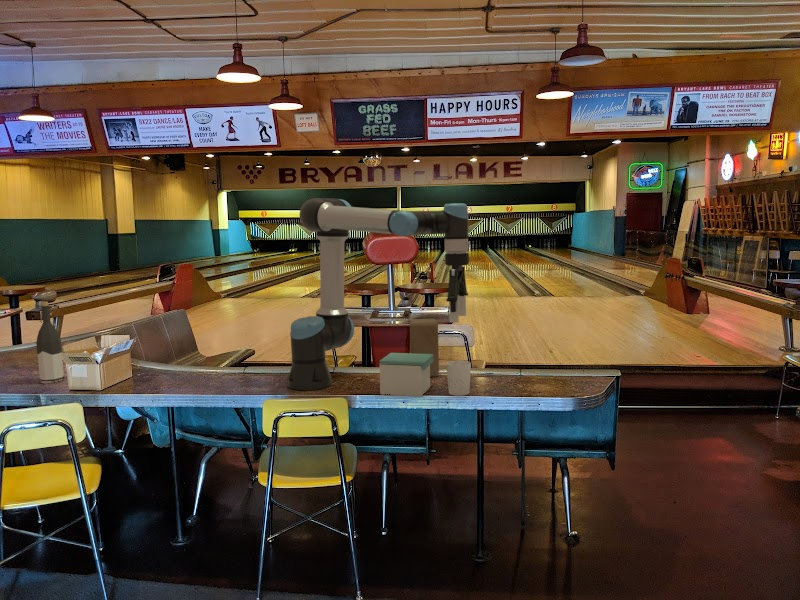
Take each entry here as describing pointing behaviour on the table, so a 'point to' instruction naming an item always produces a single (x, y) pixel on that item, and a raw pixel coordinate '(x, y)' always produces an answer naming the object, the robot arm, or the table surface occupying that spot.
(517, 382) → the table surface
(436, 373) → the block
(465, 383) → the white cup
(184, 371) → the table surface
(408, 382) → the box
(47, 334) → the wine bottle
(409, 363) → the lid
